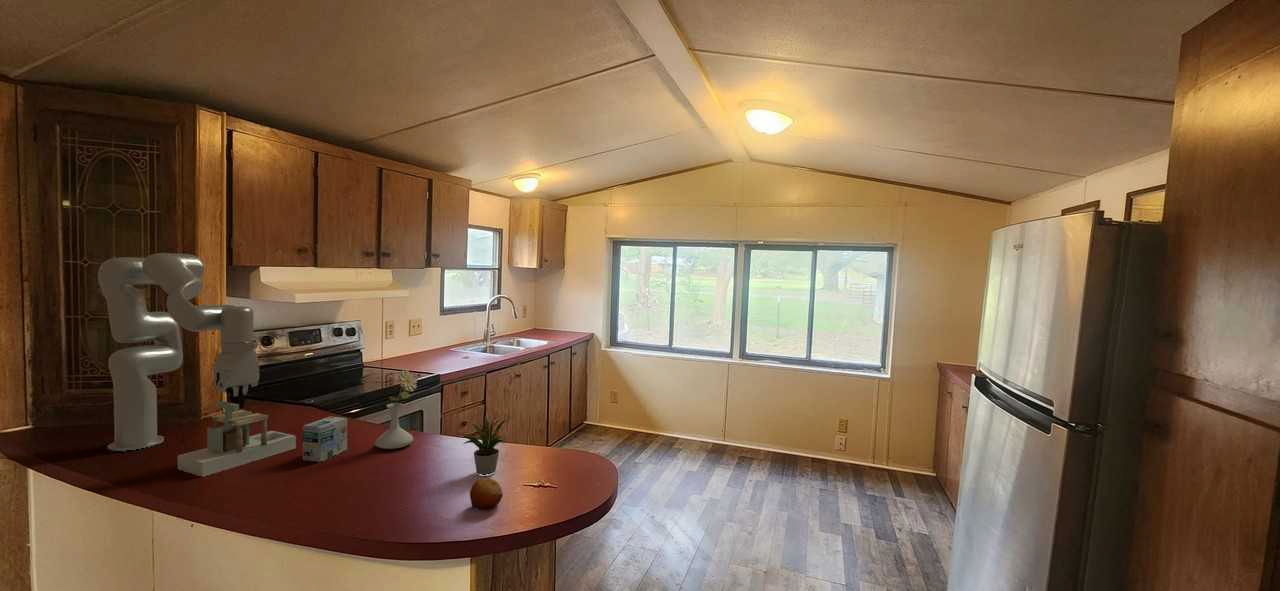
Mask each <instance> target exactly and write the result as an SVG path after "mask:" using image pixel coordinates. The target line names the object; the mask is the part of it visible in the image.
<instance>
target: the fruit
mask: <svg viewBox="0 0 1280 591" xmlns="http://www.w3.org/2000/svg"><path fill="white" fill-rule="evenodd" d="M469 497H470V498H469V499H470V503H471V509H472V510H474V509H477V510H479V511H489V510H490V511H492V510H494V509H495V508H496V507H497V506H498V505H499V504H500V502H501V500H502V499H503V490H502V487H501V485H500V484H499V482H497V481H496V480H495V479H492V478H490V477H481V478H478V479H477V480H476V481H475V482H474V483H473V484H472V485H471V488H470V491H469ZM491 509H492V510H491Z"/></svg>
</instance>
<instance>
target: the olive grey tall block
mask: <svg viewBox="0 0 1280 591" xmlns="http://www.w3.org/2000/svg"><path fill="white" fill-rule="evenodd" d="M217 408H219V409H220V408H221V409H223V410H224V414H225V422H224V426H220V427H219V428H214V427H210V426H209V427H207V428H206V429H207V430H206V432H207V434H206V435H207V437H206V438H207V439H206V440H207V442H206V444H207V447H206V448H207V449H209V450H213V451H217V452H223V431H224V430H228V429H232V428H236V425H233V424H228V420H230V419H232V412H234V411H239V410H240V409H239V404H234V403H231V402H228V401H225V400H222V401H217ZM242 429H243V430H245V432H246V445H249V437H250V423H248V424H244V425H242Z"/></svg>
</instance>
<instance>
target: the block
mask: <svg viewBox="0 0 1280 591" xmlns="http://www.w3.org/2000/svg"><path fill="white" fill-rule="evenodd" d="M245 446H246V432H245V430H243V429H242V447H245ZM234 449H236V428H231V429H227V430H223V451H225V452H227V451H231V450H234Z"/></svg>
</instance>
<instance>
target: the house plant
mask: <svg viewBox="0 0 1280 591" xmlns="http://www.w3.org/2000/svg"><path fill="white" fill-rule="evenodd" d="M510 419H511V417H509V418H505V419H503V420H498V421H495V423H493V421H491V422H490V421H489V419H488V417H487V416H485V417H484V427H483V426H482V425H481V424H480V423H479V422H477V421H476V420H474V421H475V423H477V424H478V425H479V426H480V427H479V426H478V425H477V424H475V423H472V422H469V421H466V424H470V426H471V427H473V428H474V429H475V430H476V432H477V434H476V432H474V431H473V430H472V429H471V428H468V427H467V429H468V430H470V431H472V432H473V433H474V434H475V435H476V436H478V438H479V439H478V438H476V437H475V436H472V435H470V434H467V433H463V432H459V434H460V435H461V436H464V437H465V438H466V439H467V441H465V442H464V443H463V445H465V444H469V443H472V444H474V445H475V446H476V447H477V448H478V449H476V450H474V452H473V459H474V464H475V469H476V470H475V471H476V474H477V473H478V474H482V475H486V474H491V473H493V472H495V471H496V472H497V465H498V460H499V454H500V449H498V448H495V446H496V445H498V444H500V443H503V444H505V440H504V439H502V438H505V436H502V435H499V434H500V433H501V431H500V430H503V429H504V428H505V426H504V427H502V426H503V425H504V423H506V421H508V420H510ZM489 422H490V423H489ZM499 422H500V423H499ZM497 423H499V424H498V425H497ZM496 425H497V427H496V428H495V431H494V432H493V430H494V427H495V426H496ZM492 432H493V433H492ZM496 472H495V473H496Z"/></svg>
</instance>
